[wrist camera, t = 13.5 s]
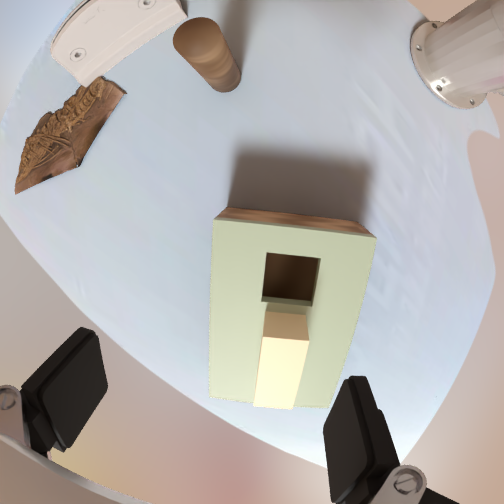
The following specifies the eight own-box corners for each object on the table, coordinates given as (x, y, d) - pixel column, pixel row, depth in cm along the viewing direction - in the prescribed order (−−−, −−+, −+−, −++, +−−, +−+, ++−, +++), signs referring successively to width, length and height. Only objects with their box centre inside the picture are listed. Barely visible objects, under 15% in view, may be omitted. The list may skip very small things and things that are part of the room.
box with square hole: (357, 221, 32) (372, 234, 26) (322, 372, 39) (327, 401, 33) (226, 207, 33) (215, 217, 27) (219, 362, 39) (210, 390, 34)
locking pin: (242, 64, 27) (222, 16, 16) (239, 92, 29) (217, 55, 17) (211, 64, 28) (176, 19, 16) (207, 92, 29) (169, 58, 17)
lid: (372, 234, 26) (394, 253, 21) (327, 401, 33) (332, 434, 27) (215, 217, 27) (200, 231, 22) (210, 390, 34) (201, 423, 28)
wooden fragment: (115, 60, 28) (111, 58, 27) (140, 126, 31) (136, 125, 30) (7, 158, 33) (2, 158, 32) (24, 214, 36) (20, 215, 35)
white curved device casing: (85, 90, 29) (34, 60, 20) (83, 71, 30) (36, 42, 20) (190, 16, 26) (153, -36, 16) (180, 1, 26) (145, -45, 16)
